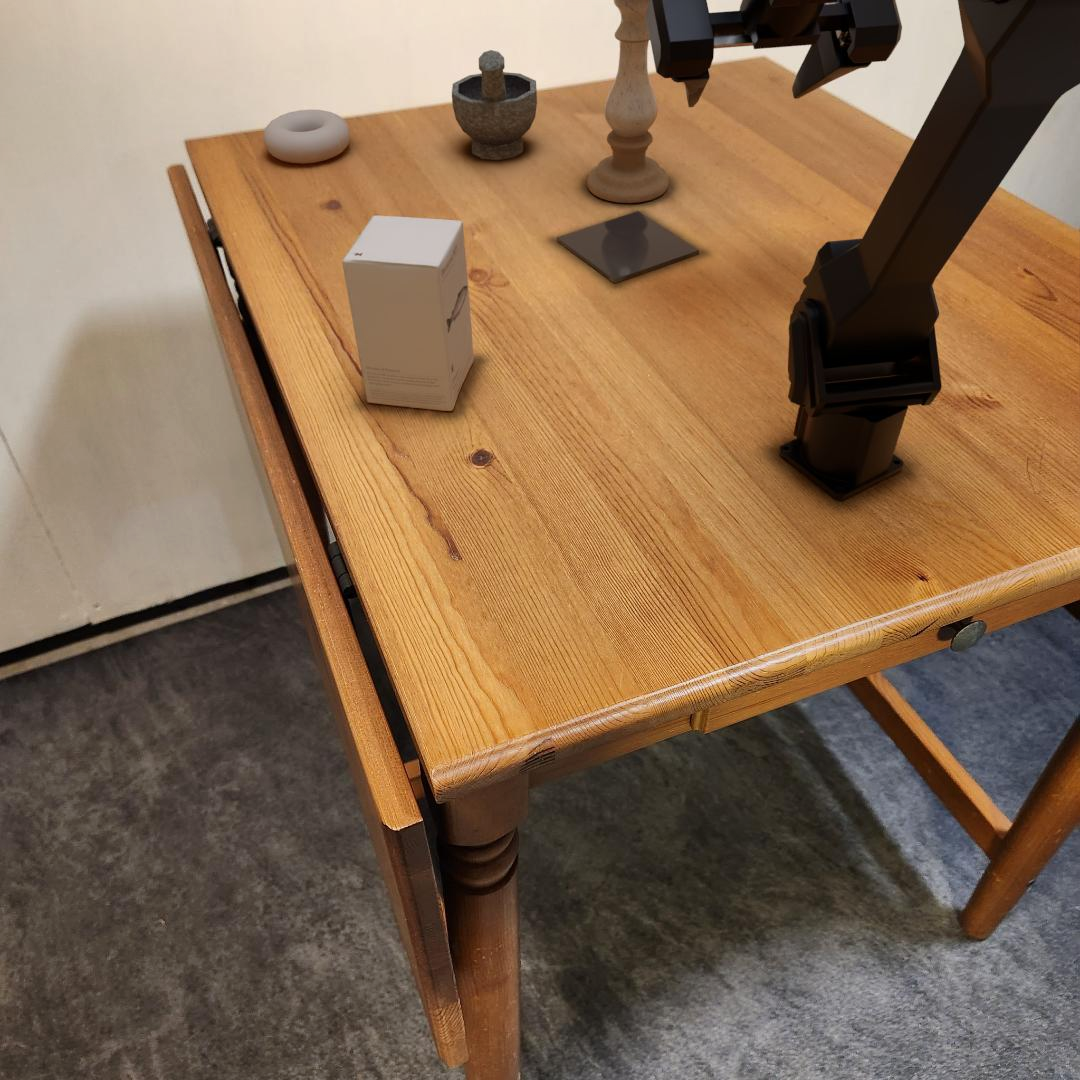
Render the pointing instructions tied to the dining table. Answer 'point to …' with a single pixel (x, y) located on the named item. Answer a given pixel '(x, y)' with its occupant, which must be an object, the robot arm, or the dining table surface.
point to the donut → (306, 136)
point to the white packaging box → (411, 310)
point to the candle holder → (630, 118)
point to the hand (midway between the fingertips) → (742, 98)
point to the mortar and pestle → (495, 108)
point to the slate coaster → (627, 246)
